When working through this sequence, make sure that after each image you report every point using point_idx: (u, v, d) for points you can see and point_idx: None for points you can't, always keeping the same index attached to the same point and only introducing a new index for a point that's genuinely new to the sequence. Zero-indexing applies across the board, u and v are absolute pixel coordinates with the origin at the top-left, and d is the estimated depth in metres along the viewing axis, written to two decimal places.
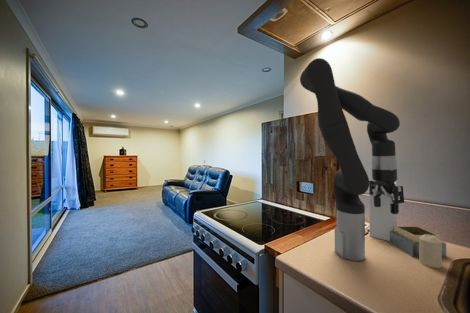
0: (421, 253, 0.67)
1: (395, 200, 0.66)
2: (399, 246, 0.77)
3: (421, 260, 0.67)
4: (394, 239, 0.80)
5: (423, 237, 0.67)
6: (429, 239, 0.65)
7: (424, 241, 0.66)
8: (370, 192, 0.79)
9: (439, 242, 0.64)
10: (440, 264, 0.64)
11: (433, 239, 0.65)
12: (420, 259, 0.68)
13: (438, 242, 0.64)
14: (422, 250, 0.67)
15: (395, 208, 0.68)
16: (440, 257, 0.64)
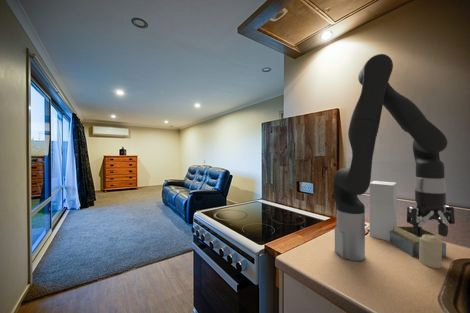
0: (421, 253, 0.67)
1: (452, 221, 0.65)
2: (399, 246, 0.77)
3: (421, 260, 0.67)
4: (394, 239, 0.80)
5: (423, 237, 0.67)
6: (429, 239, 0.65)
7: (424, 241, 0.66)
8: (414, 222, 0.66)
9: (439, 242, 0.64)
10: (440, 264, 0.64)
11: (433, 239, 0.65)
12: (420, 259, 0.68)
13: (438, 242, 0.64)
14: (422, 250, 0.67)
15: None
16: (440, 257, 0.64)
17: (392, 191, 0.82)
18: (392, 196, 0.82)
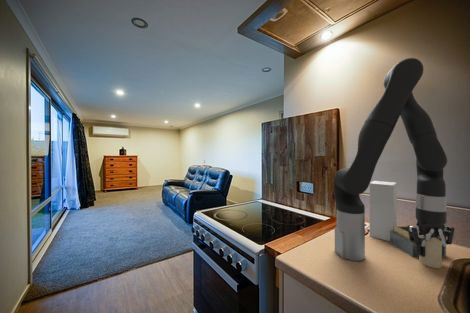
0: None
1: (450, 241, 0.65)
2: (399, 246, 0.77)
3: (421, 260, 0.67)
4: (394, 239, 0.80)
5: None
6: (429, 239, 0.65)
7: None
8: (418, 241, 0.66)
9: (439, 242, 0.64)
10: (440, 264, 0.64)
11: (433, 239, 0.65)
12: (420, 259, 0.68)
13: (438, 242, 0.64)
14: None
15: None
16: (440, 257, 0.64)
17: (392, 191, 0.82)
18: (392, 196, 0.82)
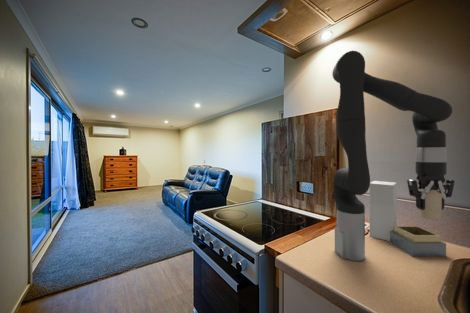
0: None
1: (450, 194, 0.65)
2: (399, 246, 0.77)
3: (421, 214, 0.67)
4: (394, 239, 0.80)
5: None
6: (429, 192, 0.65)
7: None
8: (417, 194, 0.65)
9: (439, 194, 0.64)
10: (440, 216, 0.64)
11: (433, 191, 0.64)
12: (420, 213, 0.67)
13: (438, 194, 0.64)
14: None
15: None
16: (440, 209, 0.64)
17: (392, 191, 0.82)
18: (392, 196, 0.82)
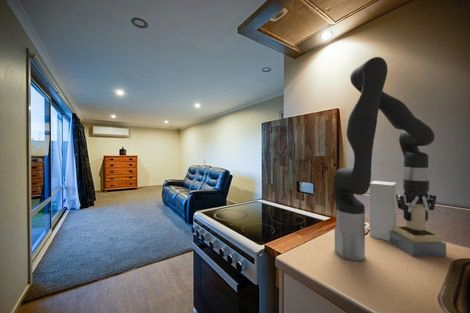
0: None
1: (432, 207, 0.75)
2: (399, 246, 0.77)
3: (408, 225, 0.77)
4: (394, 239, 0.80)
5: None
6: None
7: None
8: (404, 208, 0.75)
9: (423, 207, 0.74)
10: (424, 227, 0.74)
11: (418, 205, 0.74)
12: (407, 224, 0.77)
13: (422, 208, 0.74)
14: None
15: None
16: (424, 220, 0.74)
17: (392, 191, 0.82)
18: (392, 196, 0.82)
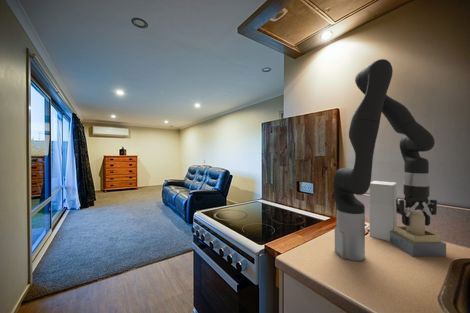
0: (407, 227, 0.77)
1: (434, 212, 0.75)
2: (399, 246, 0.77)
3: None
4: (394, 239, 0.80)
5: None
6: (414, 214, 0.75)
7: (410, 216, 0.75)
8: (403, 212, 0.75)
9: (422, 216, 0.74)
10: None
11: (417, 214, 0.74)
12: None
13: (421, 217, 0.74)
14: None
15: None
16: (423, 229, 0.74)
17: (392, 191, 0.82)
18: (392, 196, 0.82)
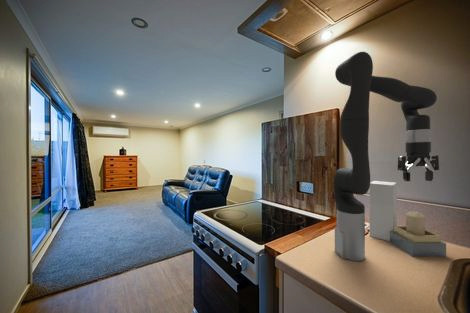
0: (407, 227, 0.77)
1: (437, 167, 0.76)
2: (399, 246, 0.77)
3: None
4: (394, 239, 0.80)
5: (409, 213, 0.77)
6: (414, 214, 0.75)
7: (410, 216, 0.76)
8: (404, 168, 0.77)
9: (422, 216, 0.74)
10: None
11: (417, 214, 0.74)
12: None
13: (421, 217, 0.74)
14: (408, 224, 0.76)
15: None
16: (423, 229, 0.74)
17: (392, 191, 0.82)
18: (392, 196, 0.82)
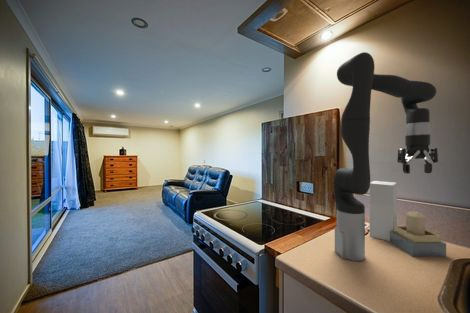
0: (407, 227, 0.77)
1: (436, 160, 0.78)
2: (399, 246, 0.77)
3: None
4: (394, 239, 0.80)
5: (409, 213, 0.77)
6: (414, 214, 0.75)
7: (410, 216, 0.75)
8: (403, 160, 0.79)
9: (422, 216, 0.74)
10: None
11: (417, 214, 0.74)
12: None
13: (421, 217, 0.74)
14: (408, 224, 0.76)
15: None
16: (423, 229, 0.74)
17: (392, 191, 0.82)
18: (392, 196, 0.82)
